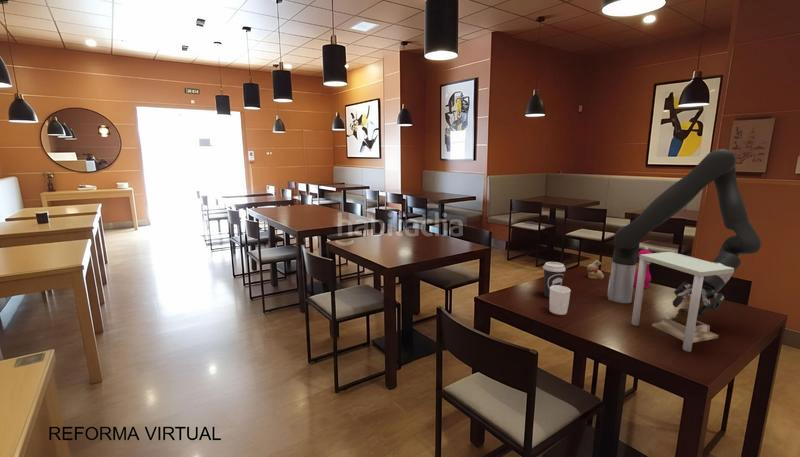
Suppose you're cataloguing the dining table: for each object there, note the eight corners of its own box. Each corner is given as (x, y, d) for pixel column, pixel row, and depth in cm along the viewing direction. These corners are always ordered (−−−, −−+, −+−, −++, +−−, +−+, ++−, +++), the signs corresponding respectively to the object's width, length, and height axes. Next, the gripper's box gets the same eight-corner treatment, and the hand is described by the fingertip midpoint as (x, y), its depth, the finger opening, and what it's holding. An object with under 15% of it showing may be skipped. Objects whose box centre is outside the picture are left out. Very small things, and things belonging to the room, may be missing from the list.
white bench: (659, 318, 151) (669, 251, 146) (720, 345, 130) (735, 268, 125) (629, 323, 147) (638, 254, 142) (687, 352, 126) (701, 272, 120)
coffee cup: (564, 294, 177) (567, 263, 174) (560, 301, 169) (563, 268, 166) (543, 290, 182) (545, 260, 179) (538, 296, 174) (541, 265, 171)
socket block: (679, 321, 149) (681, 311, 148) (718, 337, 136) (720, 327, 135) (652, 326, 145) (653, 316, 144) (688, 343, 132) (690, 332, 131)
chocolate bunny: (587, 274, 205) (589, 256, 203) (603, 277, 201) (606, 259, 199) (586, 277, 200) (588, 259, 199) (602, 280, 196) (604, 261, 194)
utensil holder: (671, 328, 141) (676, 297, 138) (677, 323, 144) (683, 293, 142) (690, 334, 136) (696, 302, 134) (696, 329, 140) (702, 298, 137)
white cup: (566, 317, 152) (568, 293, 150) (546, 312, 156) (548, 289, 154) (569, 310, 159) (572, 287, 157) (549, 306, 163) (551, 284, 161)
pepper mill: (652, 289, 183) (658, 249, 179) (636, 288, 185) (641, 248, 181) (646, 284, 190) (651, 245, 186) (630, 283, 192) (635, 244, 188)
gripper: (690, 265, 145) (662, 297, 144) (731, 277, 131) (701, 312, 130) (698, 277, 147) (671, 308, 146) (739, 290, 134) (710, 324, 133)
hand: (685, 310), depth 138 cm, fingers open, 8 cm apart
